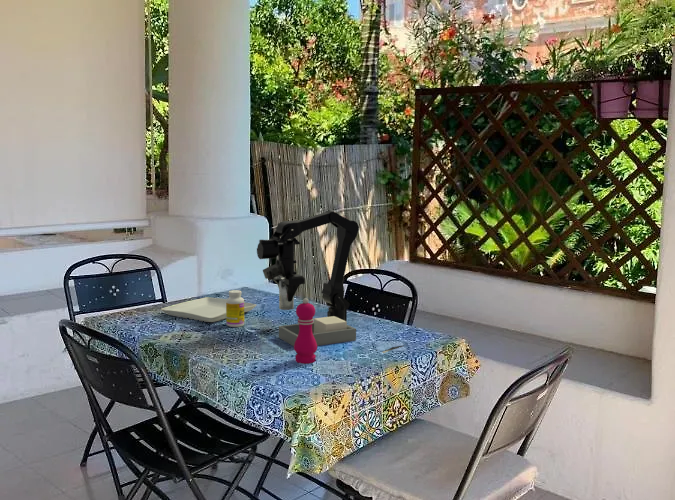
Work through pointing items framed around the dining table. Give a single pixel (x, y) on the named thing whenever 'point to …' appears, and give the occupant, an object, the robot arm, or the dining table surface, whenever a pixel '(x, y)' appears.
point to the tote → (317, 335)
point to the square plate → (203, 309)
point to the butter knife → (391, 349)
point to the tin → (284, 298)
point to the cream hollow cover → (329, 324)
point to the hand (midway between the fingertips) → (286, 300)
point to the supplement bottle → (235, 309)
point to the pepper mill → (305, 334)
